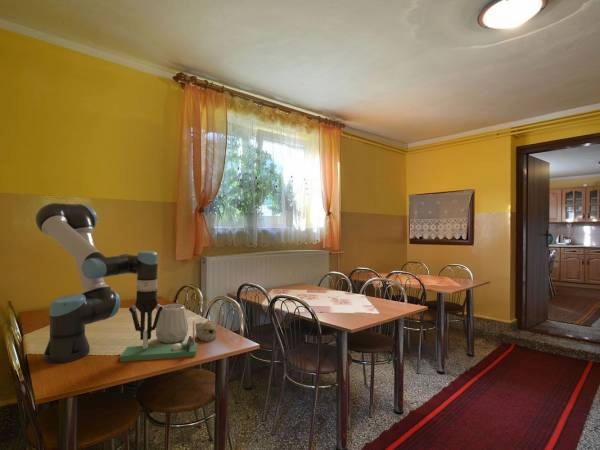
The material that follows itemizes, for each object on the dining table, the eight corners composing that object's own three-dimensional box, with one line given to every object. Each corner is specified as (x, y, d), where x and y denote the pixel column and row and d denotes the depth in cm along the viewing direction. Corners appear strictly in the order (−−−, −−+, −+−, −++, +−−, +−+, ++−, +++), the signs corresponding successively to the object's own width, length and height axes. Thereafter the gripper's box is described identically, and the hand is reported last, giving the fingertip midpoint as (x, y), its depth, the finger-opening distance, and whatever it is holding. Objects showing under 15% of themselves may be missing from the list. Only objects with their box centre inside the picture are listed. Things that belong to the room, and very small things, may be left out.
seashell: (215, 340, 153) (205, 320, 153) (197, 348, 154) (187, 329, 154) (223, 332, 163) (214, 313, 163) (206, 340, 164) (197, 321, 164)
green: (120, 361, 130) (120, 330, 130) (127, 351, 140) (127, 322, 140) (195, 356, 136) (195, 326, 136) (197, 347, 146) (197, 319, 146)
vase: (168, 347, 146) (169, 312, 145) (148, 340, 153) (149, 307, 153) (194, 338, 157) (195, 305, 157) (175, 332, 165) (175, 301, 165)
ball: (168, 350, 137) (176, 343, 137) (170, 347, 140) (177, 339, 141) (176, 357, 137) (183, 349, 138) (177, 353, 141) (184, 345, 142)
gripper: (127, 291, 132) (125, 351, 132) (162, 291, 135) (161, 349, 135) (131, 287, 139) (130, 344, 139) (165, 287, 142) (164, 343, 142)
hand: (145, 347), depth 137 cm, fingers closed
